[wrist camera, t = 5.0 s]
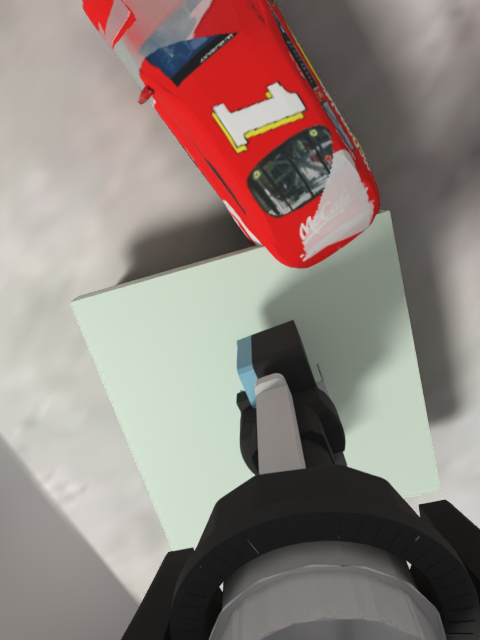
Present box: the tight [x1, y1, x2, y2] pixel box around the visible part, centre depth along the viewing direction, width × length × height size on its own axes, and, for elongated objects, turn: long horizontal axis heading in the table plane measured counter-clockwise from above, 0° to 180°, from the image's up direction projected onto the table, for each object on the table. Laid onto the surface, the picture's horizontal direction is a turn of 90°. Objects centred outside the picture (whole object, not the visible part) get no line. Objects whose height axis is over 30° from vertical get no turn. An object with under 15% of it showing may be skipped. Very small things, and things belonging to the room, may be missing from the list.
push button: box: [170, 320, 480, 640], centre depth 12 cm, size 7×5×10 cm
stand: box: [70, 209, 441, 551], centre depth 19 cm, size 12×12×3 cm
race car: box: [82, 0, 380, 269], centre depth 15 cm, size 13×5×4 cm, turn 35°
